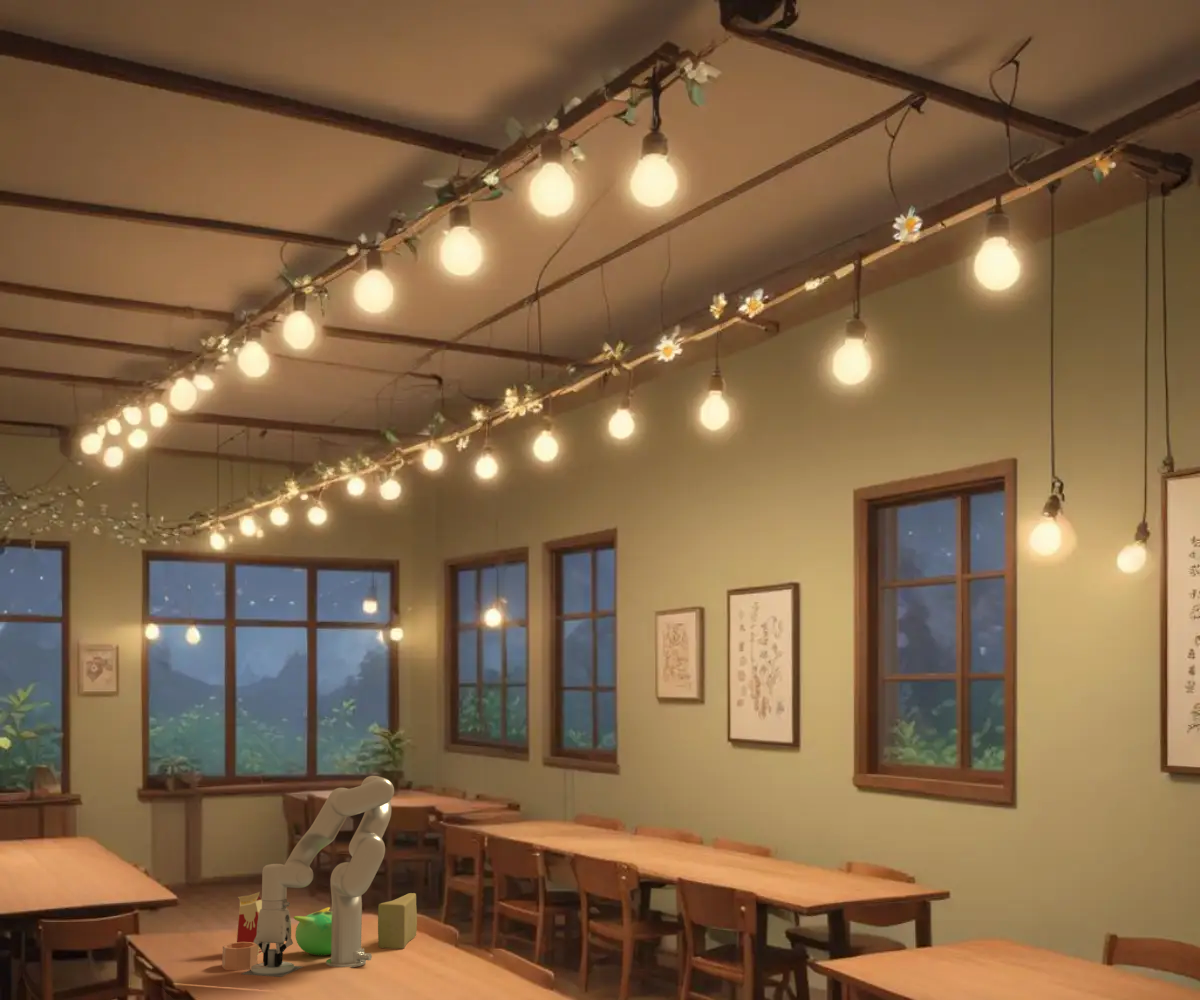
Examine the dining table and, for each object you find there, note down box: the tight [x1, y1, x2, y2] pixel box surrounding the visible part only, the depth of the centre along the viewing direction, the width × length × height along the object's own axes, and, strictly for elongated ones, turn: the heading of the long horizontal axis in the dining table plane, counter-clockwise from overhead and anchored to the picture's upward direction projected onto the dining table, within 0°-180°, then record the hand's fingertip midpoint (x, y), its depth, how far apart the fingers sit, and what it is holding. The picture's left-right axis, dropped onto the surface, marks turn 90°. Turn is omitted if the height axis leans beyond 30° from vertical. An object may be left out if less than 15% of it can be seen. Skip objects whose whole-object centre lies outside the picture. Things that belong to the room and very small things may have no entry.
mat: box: [241, 965, 303, 978], centre depth 411 cm, size 14×14×1 cm
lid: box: [250, 948, 295, 976], centre depth 411 cm, size 13×13×6 cm
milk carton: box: [236, 891, 263, 956], centre depth 438 cm, size 9×9×20 cm
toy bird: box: [293, 906, 332, 956], centre depth 435 cm, size 18×17×15 cm
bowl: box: [221, 941, 258, 971], centre depth 417 cm, size 10×10×7 cm
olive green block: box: [377, 892, 418, 950], centre depth 455 cm, size 22×10×15 cm, turn 167°
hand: (272, 964), depth 411 cm, fingers closed on lid, 3 cm apart
